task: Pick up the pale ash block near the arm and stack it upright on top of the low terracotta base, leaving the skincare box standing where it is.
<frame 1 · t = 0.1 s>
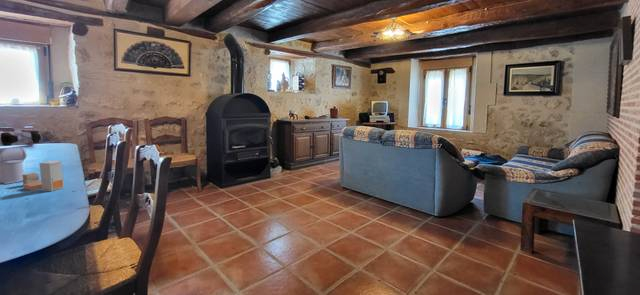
hand: (28, 137, 128), 22 cm above the table, tool horizontal, fingers open, 7 cm apart
ash block: (31, 185, 134), on the table
skincare box: (53, 189, 128), on the table
terracotta base: (37, 187, 130), on the table
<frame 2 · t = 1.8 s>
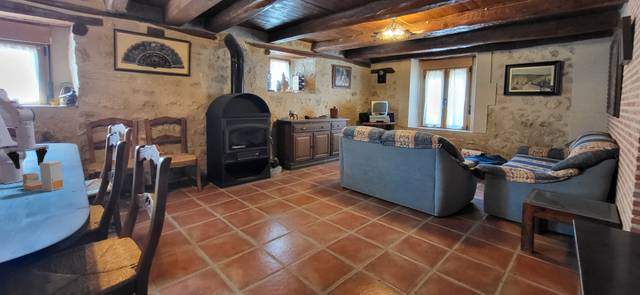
hand: (29, 167, 133), 8 cm above the table, tool pointing down, fingers open, 7 cm apart
nothing on the table moved.
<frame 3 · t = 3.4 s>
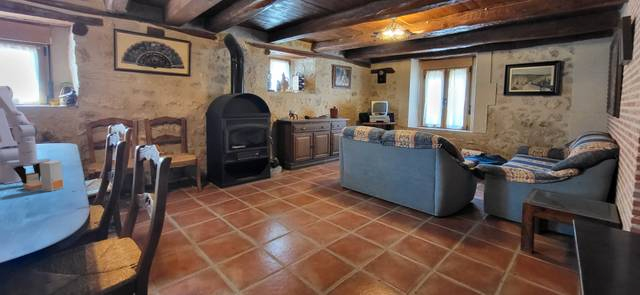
hand: (31, 181, 134), 1 cm above the table, tool pointing down, fingers closed on ash block, 4 cm apart
ash block: (31, 184, 134), on the table, touching gripper
everything else where it was.
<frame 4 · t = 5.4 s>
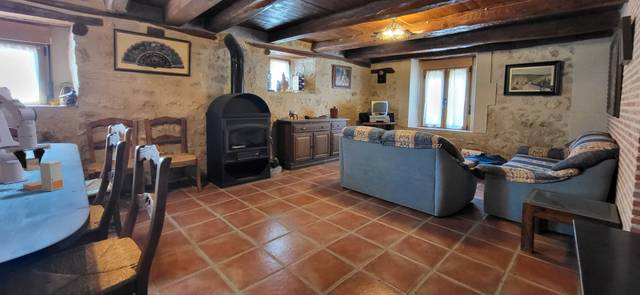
hand: (31, 166, 131), 8 cm above the table, tool pointing down, fingers closed on ash block, 4 cm apart
ash block: (31, 170, 132), point 7 cm above the table, touching gripper
everything else where it was.
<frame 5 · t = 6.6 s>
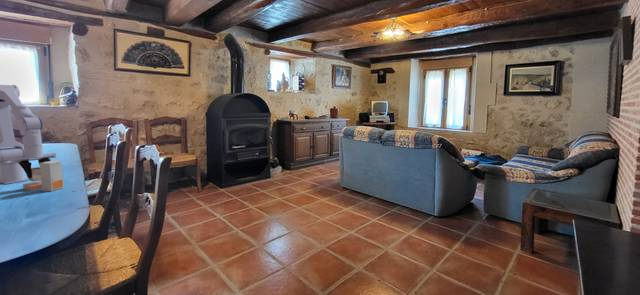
hand: (36, 176, 129), 5 cm above the table, tool pointing down, fingers closed on ash block, 4 cm apart
ash block: (36, 179, 129), point 4 cm above the table, touching gripper
everything else where it was.
when the fingers open (4 cm above the table, at t = 7.6 s): ash block stays where it is, resting on terracotta base.
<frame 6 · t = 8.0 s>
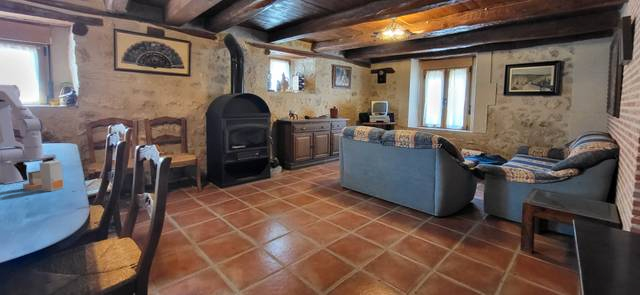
hand: (36, 177, 129), 4 cm above the table, tool pointing down, fingers open, 7 cm apart
ash block: (37, 183, 130), point 2 cm above the table, touching terracotta base
everything else where it was.
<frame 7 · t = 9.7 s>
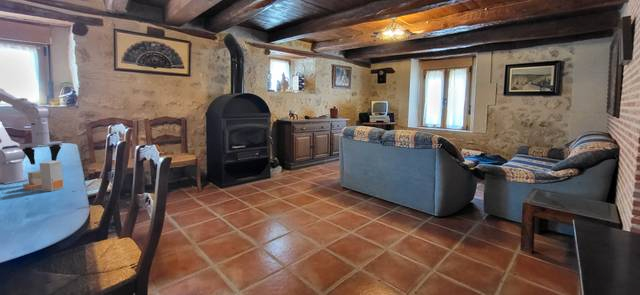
hand: (43, 162, 136), 9 cm above the table, tool pointing down, fingers open, 7 cm apart
nothing on the table moved.
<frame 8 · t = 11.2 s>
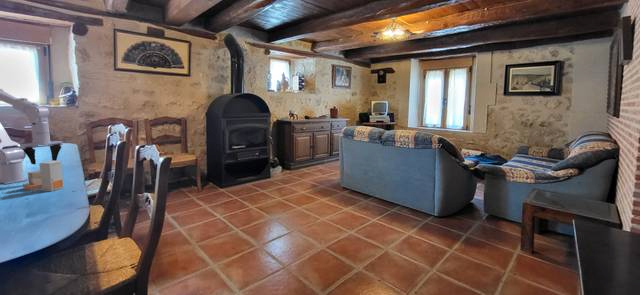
hand: (44, 162, 137), 9 cm above the table, tool pointing down, fingers open, 7 cm apart
nothing on the table moved.
at the end: ash block 0.1 cm off-centre on the terracotta base, point 2.0 cm above the terracotta base's base; ash block tilted 0°; the gripper is holding nothing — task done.
